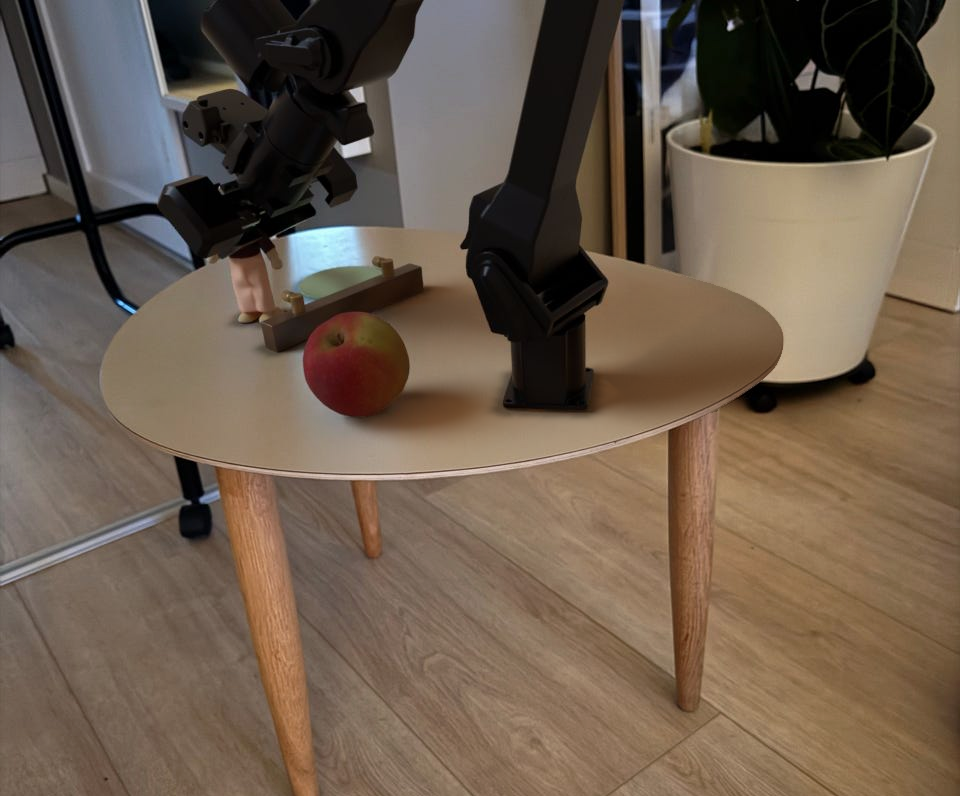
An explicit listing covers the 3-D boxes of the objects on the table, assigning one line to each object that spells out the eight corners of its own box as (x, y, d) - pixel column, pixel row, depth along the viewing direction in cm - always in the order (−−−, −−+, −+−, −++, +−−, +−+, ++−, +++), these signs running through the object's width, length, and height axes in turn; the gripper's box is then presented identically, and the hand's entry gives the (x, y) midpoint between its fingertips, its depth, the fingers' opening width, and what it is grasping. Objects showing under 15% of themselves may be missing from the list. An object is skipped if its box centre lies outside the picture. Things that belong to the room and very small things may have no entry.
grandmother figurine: (300, 309, 92) (279, 177, 86) (289, 324, 89) (266, 188, 82) (224, 310, 93) (197, 179, 86) (211, 325, 90) (182, 190, 83)
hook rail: (277, 352, 84) (268, 309, 82) (199, 319, 92) (189, 279, 89) (430, 287, 95) (426, 247, 93) (349, 263, 103) (343, 225, 100)
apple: (303, 402, 75) (285, 307, 71) (400, 381, 77) (389, 288, 73) (323, 445, 69) (305, 345, 65) (428, 421, 71) (417, 322, 67)
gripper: (314, 39, 83) (251, 157, 94) (141, 78, 70) (93, 209, 82) (393, 139, 83) (321, 245, 94) (235, 196, 70) (174, 310, 82)
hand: (232, 249), depth 88 cm, fingers closed on grandmother figurine, 3 cm apart
